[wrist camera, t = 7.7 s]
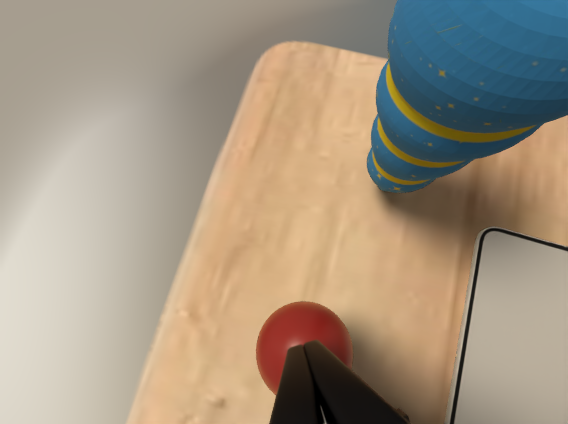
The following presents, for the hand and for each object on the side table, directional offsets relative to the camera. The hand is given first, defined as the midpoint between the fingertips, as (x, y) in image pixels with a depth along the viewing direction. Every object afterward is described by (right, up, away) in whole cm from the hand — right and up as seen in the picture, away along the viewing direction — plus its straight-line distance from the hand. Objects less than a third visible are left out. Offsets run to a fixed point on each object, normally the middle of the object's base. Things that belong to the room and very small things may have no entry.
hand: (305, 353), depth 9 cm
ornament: (+5, +5, +10) cm, 12 cm away
